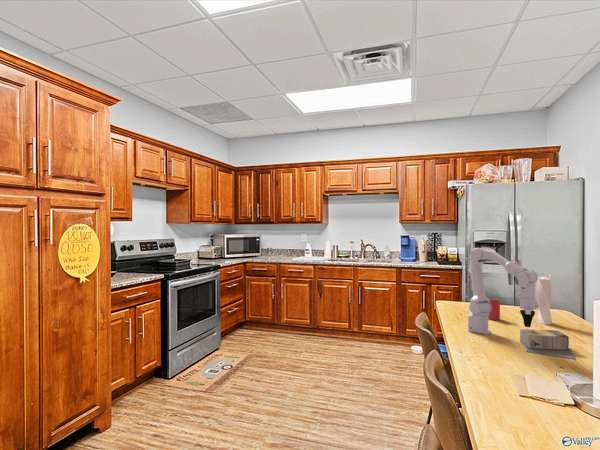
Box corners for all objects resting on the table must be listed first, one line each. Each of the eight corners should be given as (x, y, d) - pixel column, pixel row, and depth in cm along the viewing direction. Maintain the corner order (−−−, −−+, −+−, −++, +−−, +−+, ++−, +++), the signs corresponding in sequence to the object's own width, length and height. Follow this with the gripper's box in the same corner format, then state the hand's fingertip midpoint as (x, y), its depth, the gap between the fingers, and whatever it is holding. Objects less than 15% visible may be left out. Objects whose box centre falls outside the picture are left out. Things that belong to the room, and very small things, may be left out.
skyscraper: (557, 325, 191) (557, 274, 191) (546, 326, 189) (546, 275, 189) (542, 320, 199) (542, 272, 199) (532, 322, 197) (531, 273, 197)
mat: (526, 351, 151) (526, 351, 151) (525, 342, 163) (525, 341, 163) (576, 359, 142) (576, 359, 142) (570, 349, 154) (570, 348, 154)
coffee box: (519, 328, 163) (557, 330, 160) (519, 341, 163) (557, 343, 160) (529, 334, 154) (569, 336, 151) (529, 348, 154) (569, 350, 151)
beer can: (498, 318, 205) (498, 297, 205) (501, 321, 199) (501, 300, 199) (486, 317, 207) (486, 297, 207) (488, 320, 201) (488, 299, 201)
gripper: (539, 301, 148) (539, 332, 148) (536, 295, 161) (536, 323, 161) (519, 299, 152) (519, 329, 152) (519, 293, 164) (519, 321, 164)
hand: (527, 326), depth 157 cm, fingers closed
